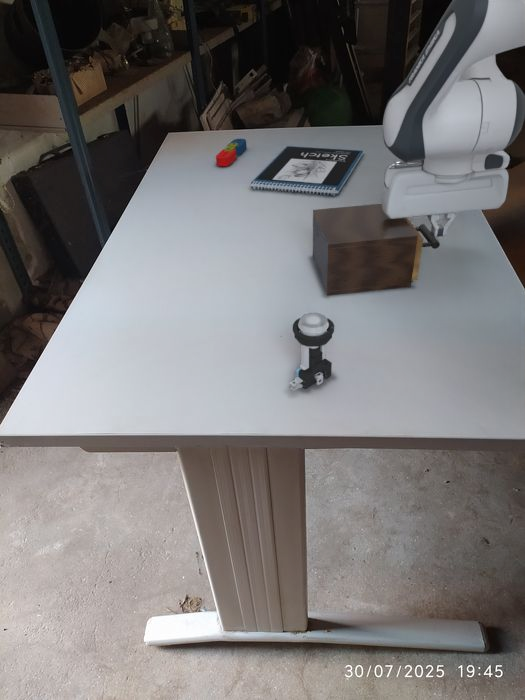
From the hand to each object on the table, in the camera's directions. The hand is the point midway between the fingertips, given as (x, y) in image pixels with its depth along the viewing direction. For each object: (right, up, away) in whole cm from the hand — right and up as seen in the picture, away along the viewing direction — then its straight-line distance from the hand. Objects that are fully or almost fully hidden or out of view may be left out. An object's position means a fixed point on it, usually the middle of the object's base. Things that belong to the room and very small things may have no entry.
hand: (437, 235), depth 95 cm
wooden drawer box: (-13, -6, +3) cm, 15 cm away
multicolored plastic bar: (-39, +33, +55) cm, 75 cm away
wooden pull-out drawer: (-9, -5, +2) cm, 11 cm away
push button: (-24, -25, -20) cm, 40 cm away
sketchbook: (-19, +26, +44) cm, 54 cm away
